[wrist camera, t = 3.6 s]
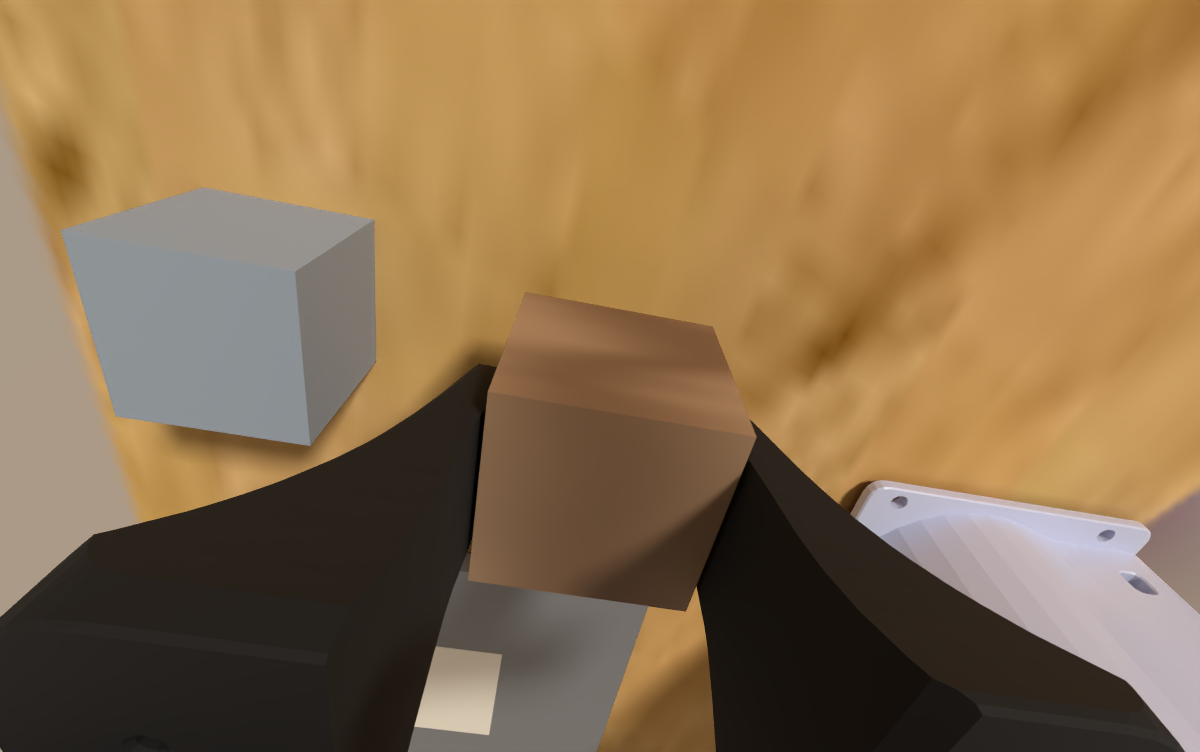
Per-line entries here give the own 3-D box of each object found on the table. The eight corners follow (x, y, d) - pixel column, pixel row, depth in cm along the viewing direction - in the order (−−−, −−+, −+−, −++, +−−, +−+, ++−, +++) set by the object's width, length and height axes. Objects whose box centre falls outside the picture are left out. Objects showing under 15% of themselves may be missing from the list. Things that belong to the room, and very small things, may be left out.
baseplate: (649, 578, 19) (651, 597, 19) (575, 795, 27) (574, 814, 26) (272, 524, 18) (258, 543, 18) (307, 766, 26) (299, 785, 25)
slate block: (375, 218, 13) (295, 271, 10) (376, 360, 15) (310, 445, 12) (205, 186, 13) (60, 229, 10) (229, 335, 15) (116, 416, 12)
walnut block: (712, 326, 12) (756, 436, 8) (666, 471, 14) (685, 611, 10) (525, 292, 11) (487, 391, 8) (505, 445, 13) (468, 580, 10)
